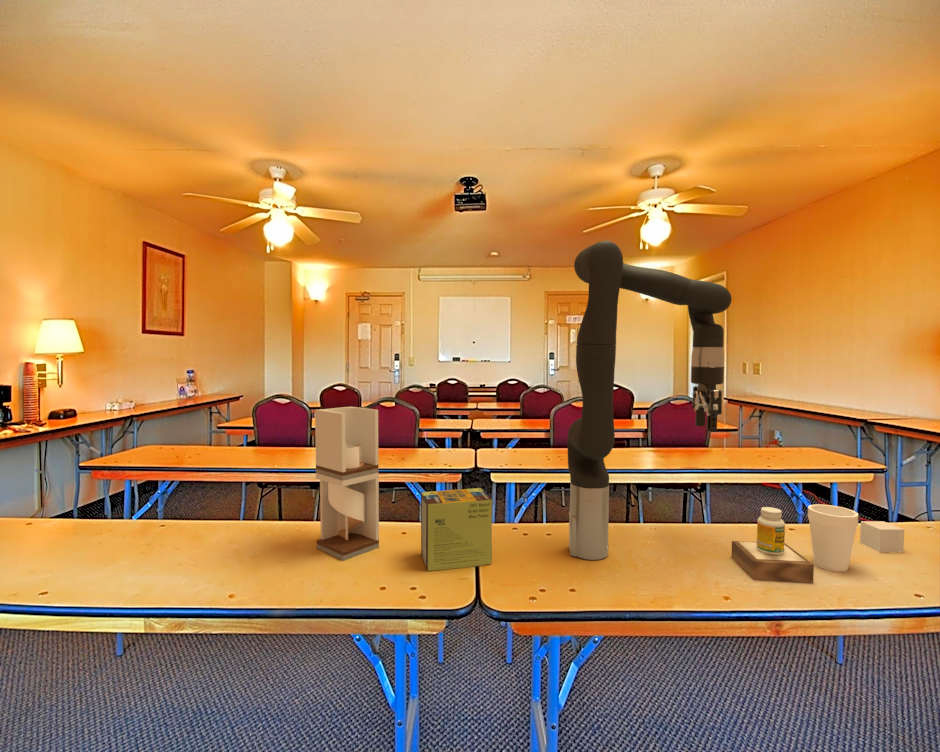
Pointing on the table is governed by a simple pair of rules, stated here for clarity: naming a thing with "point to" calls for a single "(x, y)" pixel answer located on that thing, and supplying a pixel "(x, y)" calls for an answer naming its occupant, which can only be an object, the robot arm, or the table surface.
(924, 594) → the table surface
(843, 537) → the foam cup
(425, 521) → the protein box
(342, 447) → the beige cubby shelf tower
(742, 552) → the base slab
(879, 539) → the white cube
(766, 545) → the supplement bottle
